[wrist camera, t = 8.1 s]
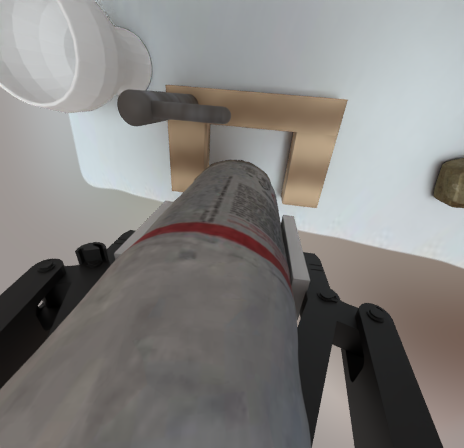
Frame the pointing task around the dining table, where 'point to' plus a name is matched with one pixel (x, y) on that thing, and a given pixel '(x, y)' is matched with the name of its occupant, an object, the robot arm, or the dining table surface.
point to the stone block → (451, 183)
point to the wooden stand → (241, 115)
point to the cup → (67, 55)
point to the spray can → (176, 336)
